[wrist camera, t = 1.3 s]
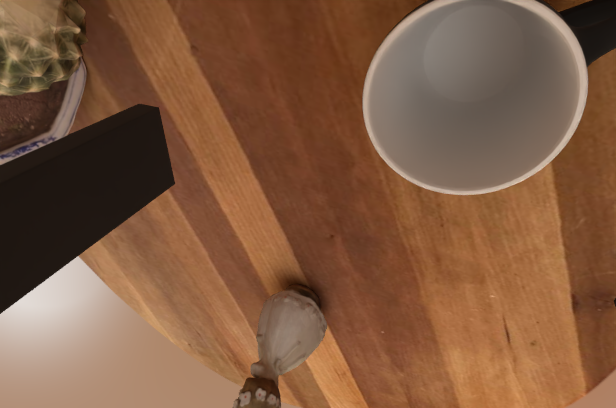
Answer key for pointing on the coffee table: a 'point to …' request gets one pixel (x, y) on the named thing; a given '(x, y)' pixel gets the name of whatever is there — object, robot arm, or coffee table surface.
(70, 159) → the robot arm
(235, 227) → the coffee table surface
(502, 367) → the coffee table surface
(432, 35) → the mug
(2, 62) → the potted plant
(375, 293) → the coffee table surface
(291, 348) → the figurine
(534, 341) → the coffee table surface
